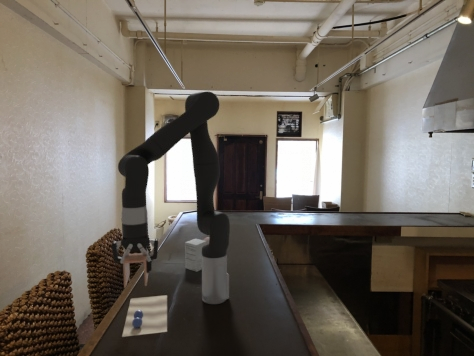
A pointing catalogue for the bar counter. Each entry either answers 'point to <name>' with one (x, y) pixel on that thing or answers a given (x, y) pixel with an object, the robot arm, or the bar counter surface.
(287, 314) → the bar counter surface
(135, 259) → the terracotta cover
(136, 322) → the navy marble front
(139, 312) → the navy marble back
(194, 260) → the supplement box
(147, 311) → the birch mat
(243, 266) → the bar counter surface
